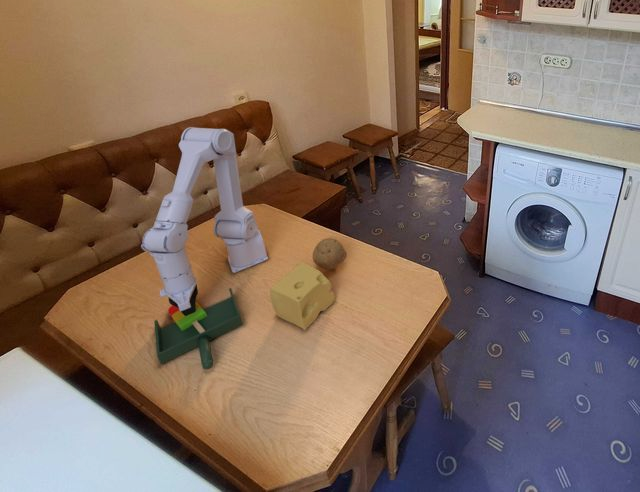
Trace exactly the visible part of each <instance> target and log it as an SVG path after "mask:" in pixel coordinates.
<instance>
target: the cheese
mask: <svg viewBox="0 0 640 492" xmlns="http://www.w3.org/2000/svg"><path fill="white" fill-rule="evenodd" d="M331 289H332V283H331V281H330V280H329V279H328V278H327V277H326V276H325V275H324V273H323V272H322V271H320V270H318V269H317V268H315V267H314V266H312V265H309V264H308V263H305V262H302V261H301V262H299V264H298V265H296V266H295V267H294V268H293V269H292V270H291V271H289V272H288V273H287V275H285V276H284V277H282V279H280V280H279V281H278V282H277V283H275V284H274V285H273V286H271V287H270V301H271V305H272V308H273V310H274V312H275V314H276V315H277V317H278V318H281V319H283V320H284V321H286V322H288V323H291V324H292V325H294V326H296V327H299V328H301V329H302V330H304V331H305V330H307V329H308V328H309V327H310V326H311V324H312V323H314V321H316V320H317V319H318V317H319V314H320V312H321V311H322V312H324V311H326V310H328V308H329V307H330V306H331V305H333V304H334V303H335V301H336V300H335V299H336V297H335V293H334V292H333V291H332V290H331Z"/></svg>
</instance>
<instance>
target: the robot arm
mask: <svg viewBox="0 0 640 492" xmlns="http://www.w3.org/2000/svg"><path fill="white" fill-rule="evenodd" d="M235 142H236V141H235V134H234V133H233V132H232V131H230V130H228V129H226V128H208V127H206V128H205V127H196V126H190V127H187V128H185V129H184V130H183V132H182V134H181V136H180V141H179V143H178V148H179V150H180V151H181V157H180V161H179V165H178V168H177V172H176V177H175V180H174V184H173V188H172V191H171V192H169V193H168V194H165V195H164V196H163V199H162V202H161V204H160V206H159V210H158V212H157V215H156V217H155V220H154V224H153V226H152V227H151V228H149V229H148V230H146V232H145V233H144V235H143V237H142V239H141V240H142V244H141V245H140V247H141V249H142V250H143V251H144V252H148V253H149V254H150V257H151V258H153V260H154V263H155V265H156V268H157V270H158V273H159V274H158V275H159V277H160V279H161V282H162V285H163V288H161V289H160V290H159V291H158V292H159V296H160V297H161V298H162V297H165V296H167V297H168V303H169V305H171V306H172V305H173V306H175V307H177V308H178V309H179V310H180V311H181V312H182V314H183V315H184V316H187V315H189V314H192V313H194V312H195V311H196V305H195V301H196V302H197V297H198V294H199V289H198V285H197V283H198V280H197V278H196V276H195V275H194V273H193V269H192V265H191V262H190V259H189V256H188V252H187V250H186V244H187V242H188V240H189V231H188V228H189V224H187V222H188V219H189V216H190V214H191V211H192V208H193V204H194V201H195V200H194V198H193V197H192V195H191V193H192V191H193V188H194V186H195V184H196V182H197V180H198V178H199V175H200V173H201V171H202V168H203V166H204V164H206V163H209V162H210V161H213V167H214V174H215V180H216V181H215V182H216V187H217V193H218V200H219V206H220V210H219V212H217V213H216V214H215V215H214V217H213V218H214V219H213V220H214V224H213V233H214V236H215V237H216V238H220V239H221V242H224V244H225V248H226V252H227V255H228V258H227V261H228V264H229V267H230V269H231V273H232V274H236V273H238V272H241V271H243V270H246V269H248V268H250V267H253V266H256V265H258V264H261V263H264V262H265V261H268V260H269V257H268V254H267V248H266V245H265V242H264V239H263V236H262V233H261V230H260V229H258V221H257V220H256V218H255V215H254V211H252V210H251V209H250V208H247V207H245V205H244V202H243V195H242V188H241V180H240V173H239V166H238V159H237V149H236V143H235Z"/></svg>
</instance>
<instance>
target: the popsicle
mask: <svg viewBox="0 0 640 492" xmlns="http://www.w3.org/2000/svg"><path fill="white" fill-rule="evenodd" d="M195 305H196V311H195V312H194V313H192V314H189V315H187V316H184V315H183V314H182V312H181V311H180V310H179V309H178V308H177V307H175V306H173V305H171V306H170V307H169V308H168V309H167V312H168V314H169V316H170V317H171V319H172V320H173V322H175V323H176V324H177V325H178V327H179V328H180V329H181V330H182V331H184V330H185V329H187V328H189V327H190V326H192V325H194V327H195V328H196V329H197V330H198V332H199V333H202V332H204V331H205V330H204V329H203V328H202V326H201V325H200V324H199V323H198V322H199V321H200V320H202V319H203V318H205V317H207V314H206V312H205V311H204V310H203V309H204V308H203V307H202V306H201V305H200V304H199V303H198V302H197V300H196V301H195Z"/></svg>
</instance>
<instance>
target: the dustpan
mask: <svg viewBox="0 0 640 492" xmlns="http://www.w3.org/2000/svg"><path fill="white" fill-rule="evenodd" d="M228 291H229V293H230V297H229V298H226V299H224V300H221V301H219V302H217V303H215V304H213V305H210V306H208V307H206V308H202V309H203V310H204V311H205V312H206V314H207V317H205V318H203V319H202V320H200V321H199V322H198V323H199V324H200V325H201V326H202V328H203V329H204V330H205V331H204V332H202V333H199V332H198V330H197V329H196V328H195V327H194V325H192V326H190V327H189V328H187V329H185V330H184V331H182V330H181V329H180V328H179V327H178V325H177V324H176V323H175V321H173V322H172V323H169V324H167V325H165V326H163V327H161V325H160V323H159V321H158V319H154V334H155V348H156V357H157V359H158V360H159V361H158V362H159V363H160V365H164V364H165V363H167V362H169V361H171V360H174V359H175V358H177V357H179V356H181V355H184V354H186V353H188V352H189V351H192V350H194V349H195V348H198V351H199V356H200V362H201V367H202V369H203V370H206V371H208V370H210V369H212V368H213V366H214V362H215V361H214V357H213V353H212V348H211V344H210V341H213V340H214V339H216V338H218V337H220V336H222V335H224V334H226V333H229V332H230V331H232V330H234V329H236V328H238V327H241V326H242V325H244V323H243V320H242V317H241V314H240V311H239V307H238V305H237V304H238V303H237V301H236V298H235V295H234V293H233V290H232V288H231V287H230V288H228Z"/></svg>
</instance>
